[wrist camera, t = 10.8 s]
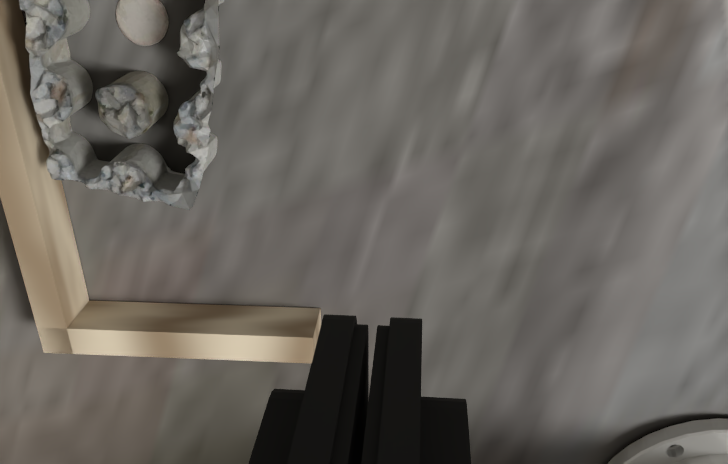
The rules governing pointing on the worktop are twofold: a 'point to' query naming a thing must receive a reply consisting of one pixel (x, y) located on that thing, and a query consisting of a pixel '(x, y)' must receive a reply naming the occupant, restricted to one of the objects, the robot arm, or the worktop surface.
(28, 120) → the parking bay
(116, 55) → the worktop surface
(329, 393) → the robot arm
